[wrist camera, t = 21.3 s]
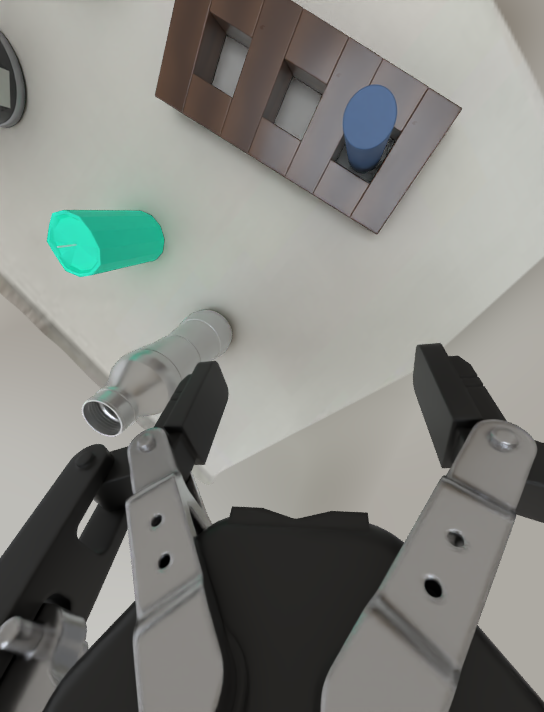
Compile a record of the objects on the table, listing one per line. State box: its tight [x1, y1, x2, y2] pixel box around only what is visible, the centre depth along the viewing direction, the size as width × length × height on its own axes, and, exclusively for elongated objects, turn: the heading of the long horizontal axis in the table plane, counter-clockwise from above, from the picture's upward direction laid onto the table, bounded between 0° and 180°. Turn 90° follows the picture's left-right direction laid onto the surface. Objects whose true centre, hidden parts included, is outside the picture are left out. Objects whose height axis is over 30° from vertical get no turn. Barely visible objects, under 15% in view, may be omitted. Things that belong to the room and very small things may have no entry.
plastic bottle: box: [82, 310, 232, 437], centre depth 31 cm, size 6×7×20 cm
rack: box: [155, 0, 462, 234], centre depth 25 cm, size 24×10×4 cm, turn 61°
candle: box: [47, 210, 164, 277], centre depth 31 cm, size 6×6×12 cm
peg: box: [343, 84, 397, 173], centre depth 22 cm, size 3×3×12 cm
